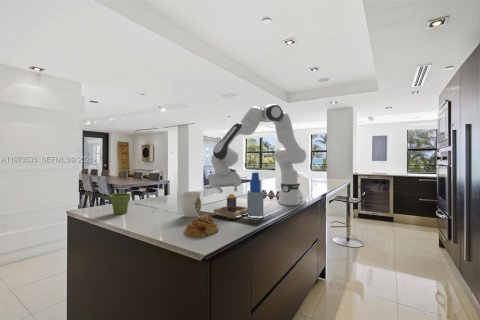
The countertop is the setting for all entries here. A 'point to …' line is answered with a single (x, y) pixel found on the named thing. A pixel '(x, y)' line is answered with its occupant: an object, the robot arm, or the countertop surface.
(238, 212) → the birch tray
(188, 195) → the pitcher
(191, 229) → the pastry
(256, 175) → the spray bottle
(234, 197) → the orange ball
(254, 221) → the countertop surface
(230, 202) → the black shaker
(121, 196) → the plant pot
